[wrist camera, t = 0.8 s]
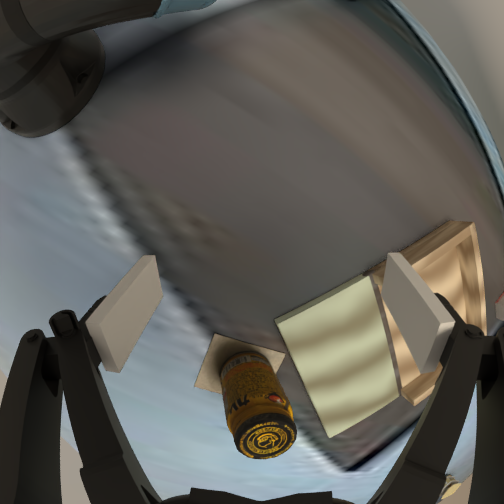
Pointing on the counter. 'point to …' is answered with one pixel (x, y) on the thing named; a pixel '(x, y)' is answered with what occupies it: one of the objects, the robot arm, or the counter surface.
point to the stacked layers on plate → (449, 486)
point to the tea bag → (500, 307)
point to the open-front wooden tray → (379, 330)
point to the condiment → (250, 396)
